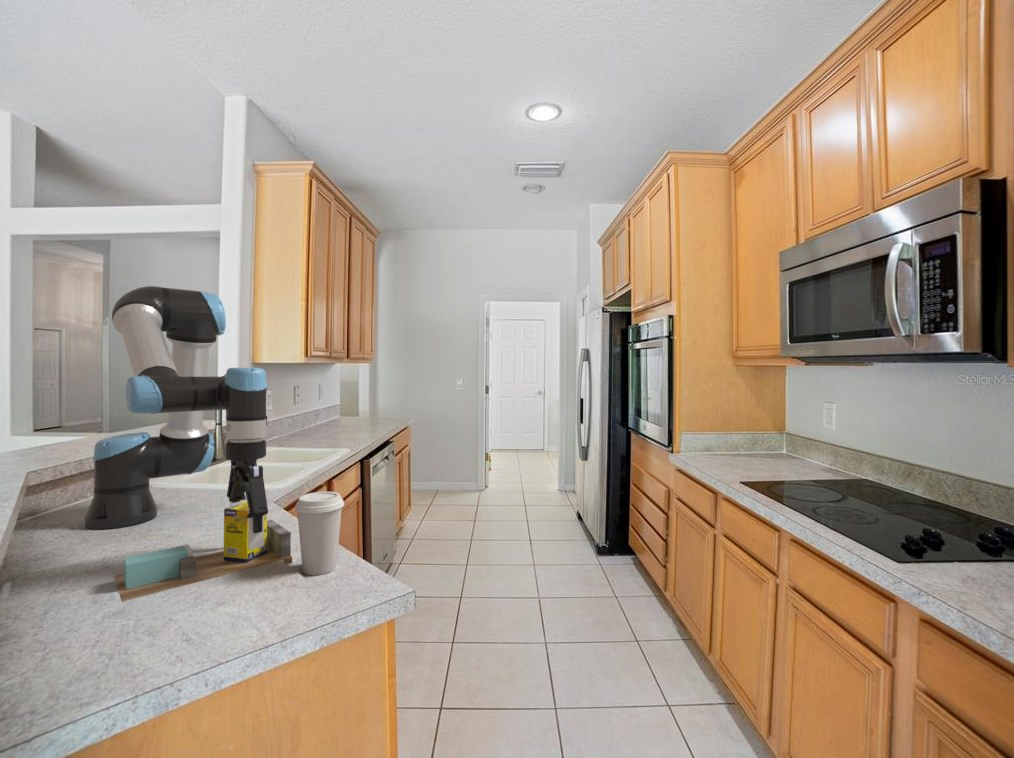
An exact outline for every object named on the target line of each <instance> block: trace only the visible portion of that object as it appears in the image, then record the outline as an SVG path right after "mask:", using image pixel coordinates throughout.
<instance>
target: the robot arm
mask: <svg viewBox="0 0 1014 758" xmlns="http://www.w3.org/2000/svg"><path fill="white" fill-rule="evenodd" d="M225 311H226V310H225V307H224V304H223V302H222V300H221V298H220V297H219V296H218V295H216V294H215V293H209V292H207V291H206V292H204V291H200V290H191V289H181V288H180V289H179V288H173V287H171V288H170V287H161V286H154V285H152V286H151V285H150V286H148V285H147V286H141V287H137V288H136V289H132V290H130V291H128V292H126V293H124V294H123V295H122V296H121V297H120V298H119V299H118V300H117V301H116V302H115V303H114V306H113V308H112V310H111V320H112V324H113V326H114V328H115V330H116V331H117V332H118V333H119V334H121V335H122V339H123V343H124V346H125V350H126V353H127V356H128V360H129V363H130V367H131V370H132V373H133V376H131V377H129V378H128V379H127V382H126V387H125V401H126V402H125V403H126V406H127V409H128V411H129V412H131V413H134V414H151V415H154V414H165V413H167V414H166V416H167V418H166V424H164V425H163V426H162V427H161V428H160V429H159V435H158V436H151V434H150V433H149V432H145V431H141V432H133V433H125V434H119V435H114V436H110V437H105V438H103V439H100V440H99V441H97V442H96V443H95V444H94V451H93V457H92V460H93V467H94V468H93V497H92V500H91V502H90V505H89V507H88V510H87V512H86V514H85V517H84V527H85V528H87V529H92V530H108V529H117V528H118V529H119V528H124V527H131V526H135V525H139V524H142V523H146V522H148V521H151V520H153V519H155V518H157V516H158V506H157V504H156V501H155V498H153V495H152V492H151V490H150V489H151V488H150V480H152V479H159V478H164V477H172V476H173V477H174V476H183V475H192V474H195V473H200V472H204V471H206V470H207V469H208V468H209V467H210V466H211V463H212V462H213V461H212V460H213V458H214V453H215V439H214V438H215V437H214V435H213V434H212V433H210V432H209V429H208V427H206V426H205V425H204V414H205V413H204V412H208V411H225V424H226V425H223V426H222V428H223V429H222V430H224V431H225V439H227V440H228V441H227V442H226V443H225V459H226V460H228V461H230V472H229V480H228V487H227V492H226V496H227V498H228V501H229V507H232V506H235V505H238V504H241V503H243V502H245V501H246V502H248V507H249V512H250V514H248V515H247V517H246V518H248V549H249V550H251V549H255V548H260V547H264V515H265V514H267V515H268V513H269V509H268V508H269V507H268V501H267V495H266V487H265V480H264V467H263V465H258V463H257V460H259V459H264V458H265V457H266V456H267V440H266V439H265V438H267V430H268V429H267V427H268V426H267V425H268V424H267V387H268V383H267V374H266V370H265V369H264V368H261V367H229V368H227V370H226V372H225V375H223V376H208V367H209V355H210V347H211V346H212V345H214V344H216V343H217V336H222V335H224V333H225V331H226V327H227V326H226V325H227V324H226V323H227V322H226V321H227V319H226V312H225ZM163 332H165V333H166V336H165V335H164V333H163ZM166 339H167V340H168V341H169V342H170V343H171V344H172V346H171V347H172V349H171V352H170V350H169V346H168V343H167V341H166ZM257 509H258V510H257Z"/></svg>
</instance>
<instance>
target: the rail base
mask: <svg viewBox="0 0 1014 758" xmlns="http://www.w3.org/2000/svg"><path fill="white" fill-rule="evenodd" d="M291 534H292V533H291V532H290V531H289V530H288V529H286V528H285V527H284V526H282V525H280V523H277V522H276V521H275V520H273V519H269V520H267V552H266V553H264V554H262V555H260V556H258V557H256V558H254V559H252V560H250V561H249V562H237V561H228V560H224V550H221V551H217V552H212V553H208V554H204V555H199V556H195V555H193V557H188V558H184V559H179V577H175V578H171V579H167V580H163V581H159V582H155V583H151V584H147V585H143V586H139V587H135V588H131V589H126V586H125V583H124V573H120V574H116V575H114V579H115V582H116V585H117V589H118V592H119V595H120V600H121V602H126V601H130V600H134V599H138V598H142V597H146V596H150V595H153V594H157V593H161V592H165V591H168V590H172V589H177V588H180V587H185V586H187V585H191V584H195V583H199V582H203V581H206V580H210V579H215V578H217V577H218V578H219V577H222V576H226V575H230V574H233V573H237V572H240V571H245V570H249V569H253V568H257V567H260V566H264V565H268V564H272V563H275V562H279V561H283V562H285V564H287V565H288V564H292V563H293V556H291V547H292V545H291V543H292V541H291V539H292V538H291V537H292V535H291Z"/></svg>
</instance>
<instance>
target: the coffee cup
mask: <svg viewBox="0 0 1014 758" xmlns="http://www.w3.org/2000/svg"><path fill="white" fill-rule="evenodd" d="M344 506H345V501H344V499H343V498H342V496H341V494H340V493H339V492H335V491H317V492H316V491H315V492H310V493H306V494H305V493H304V494H303V495H301V496H299V497H298V500H297V502H296V503H295V506H294V511H295V512H296V513H297V522H298V523H297V524H298V533H299V534H298V535H299V544H300V554H301V566H302V568H301V569H302V573H303V574H305V575H307V576H319V575H320V574H321V575H325V573H326V574H328V572H329V573H331V572H333V571H335V570H336V568H337V564H338V563H337V562H338V553H339V541H340V540H339V539H340V531H341V518H342V509H343V507H344ZM332 570H333V571H332Z"/></svg>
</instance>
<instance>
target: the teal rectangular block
mask: <svg viewBox="0 0 1014 758" xmlns="http://www.w3.org/2000/svg"><path fill="white" fill-rule="evenodd" d="M193 556H194V550H193V548H192V547H191V546H190V545H189V544H188V543H187V544H183V545H180V546H175V547H170V548H166V549H161V550H157V551H152V552H147V553H142V554H138V555H137V554H136V555H132V556H128V557H123V574H124V583H125V586H126V589H131V588H135V587H139V586H143V585H147V584H151V583H155V582H159V581H163V580H167V579H171V578H175V577H179V559H184V558H188V557H193Z"/></svg>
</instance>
